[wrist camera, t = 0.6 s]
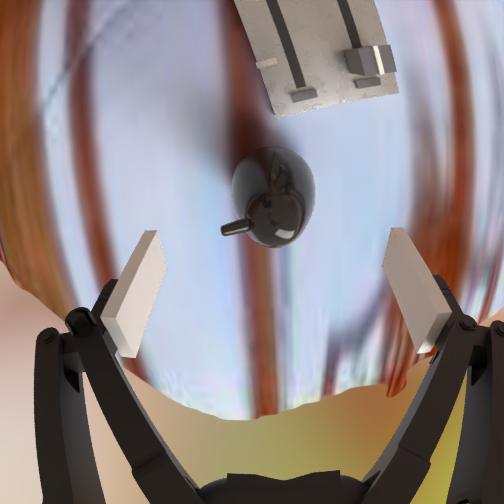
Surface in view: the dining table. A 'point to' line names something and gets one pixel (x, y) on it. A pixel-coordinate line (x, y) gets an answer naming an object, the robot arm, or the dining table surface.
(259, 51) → the console
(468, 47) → the dining table surface
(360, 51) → the fader graphite
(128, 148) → the dining table surface
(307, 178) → the pump dispenser
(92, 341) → the robot arm
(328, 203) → the dining table surface
